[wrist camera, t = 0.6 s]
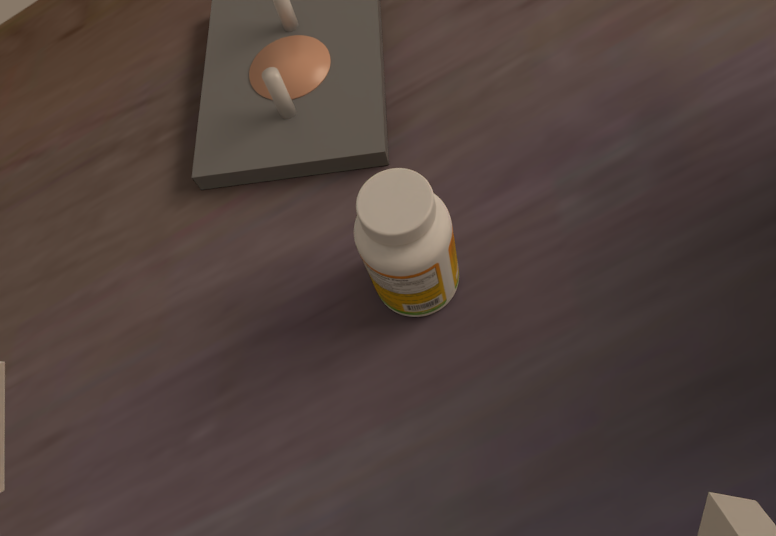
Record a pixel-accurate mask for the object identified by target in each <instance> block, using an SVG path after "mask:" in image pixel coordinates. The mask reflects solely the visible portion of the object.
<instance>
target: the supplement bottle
mask: <svg viewBox="0 0 776 536" xmlns="http://www.w3.org/2000/svg"><path fill="white" fill-rule="evenodd" d="M356 211H357V217H356V220H355V225H354V239H355V244H356V247H357V249H358V252H359V254H360V256H361V258H362V260H363V262H364V265H365V267H366V269H367V271H368V273H369V275H370V278H371V280H372V282H373V284H374V286H375V289H376V291H377V293H378V295H379V296H380V298H381V300H382V301H383V302H384V303H385V305H386V306H388V307H389V308H390V309H391V310H393V311H394V312H396V313H398V314H401V315H404V316H410V317H421V316H427V315H430V314H433V313H435V312H437V311H439V310H440V309H442V308H443V307H444V306H446V305H447V304H448V303H449V301H450V300H451V299H452V298H453V296H454V294H455V292H456V290H457V286H458V282H459V269H458V262H457V256H456V249H455V242H454V234H453V227H452V222H451V218H450V214H449V212H448V210H447V208H446V206H445V204H444V203H443V202H442V200H441V199H440V198H439V197H438V196H436V195H435V194H434V193H433V191H432V188H431V186H430V184H429V183H428V181H427V180H426V179H425V178H424V177H423V176H422V175H420V174H419V173H417V172H415V171H412V170H409V169H404V168H393V169H388V170H384V171H381V172H379V173H377V174H375V175H374V176H372V177H371V178H370V179H368V180H367V181H366V182H365V184H364V185H363V186H362V188H361V189H360V191H359V193H358V196H357V200H356Z"/></svg>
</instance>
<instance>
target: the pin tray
mask: <svg viewBox="0 0 776 536" xmlns="http://www.w3.org/2000/svg"><path fill="white" fill-rule="evenodd" d="M385 165H389V158H388V139H387V120H386V101H385V82H384V63H383V44H382V25H381V5H380V0H212V6H211V15H210V23H209V32H208V40H207V49H206V58H205V66H204V75H203V84H202V92H201V101H200V110H199V118H198V127H197V136H196V144H195V153H194V161H193V170H192V179H193V180H194V181H195V183H196V184H197V185H198V186H199V188H200V189H201V190H204V189H211V188H219V187H227V186H234V185H242V184H249V183H257V182H264V181H272V180H279V179H287V178H294V177H302V176H309V175H317V174H325V173H332V172H340V171H347V170H355V169H362V168H370V167H377V166H385Z"/></svg>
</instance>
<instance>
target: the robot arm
mask: <svg viewBox="0 0 776 536" xmlns="http://www.w3.org/2000/svg"><path fill="white" fill-rule="evenodd" d="M4 443H5V362H2V361H0V493H1V492H2V491H4ZM698 536H776V525H775V524H774V523H773V521H772V520H771V519H770V518H769V516H768V515H767V514H766V513H765V511H764V510H763V509H762V508H761V506H760V505H759V504H758V503H757V501H756V500H750V499H745V498H739V497H734V496H728V495H723V494H718V493H712V492H708V496H707V500H706V504H705V508H704V512H703V516H702V520H701V524H700V528H699V532H698Z"/></svg>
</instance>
